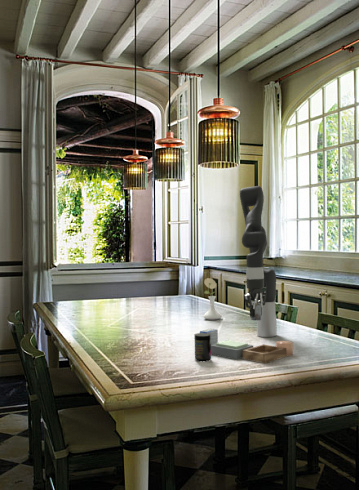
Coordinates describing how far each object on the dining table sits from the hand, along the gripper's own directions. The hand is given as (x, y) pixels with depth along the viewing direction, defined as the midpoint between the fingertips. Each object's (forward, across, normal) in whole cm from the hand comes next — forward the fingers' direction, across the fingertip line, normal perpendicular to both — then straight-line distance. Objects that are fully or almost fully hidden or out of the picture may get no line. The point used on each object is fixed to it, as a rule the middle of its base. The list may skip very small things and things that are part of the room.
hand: (255, 316), depth 221 cm
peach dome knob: (+15, -2, +13) cm, 20 cm away
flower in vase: (+16, -51, -71) cm, 89 cm away
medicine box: (+15, +11, -18) cm, 26 cm away
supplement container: (+15, +27, -7) cm, 32 cm away
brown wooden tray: (+15, +8, +10) cm, 20 cm away
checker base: (+15, +12, -4) cm, 20 cm away
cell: (+1, 0, 0) cm, 1 cm away
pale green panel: (+11, +12, -4) cm, 17 cm away
